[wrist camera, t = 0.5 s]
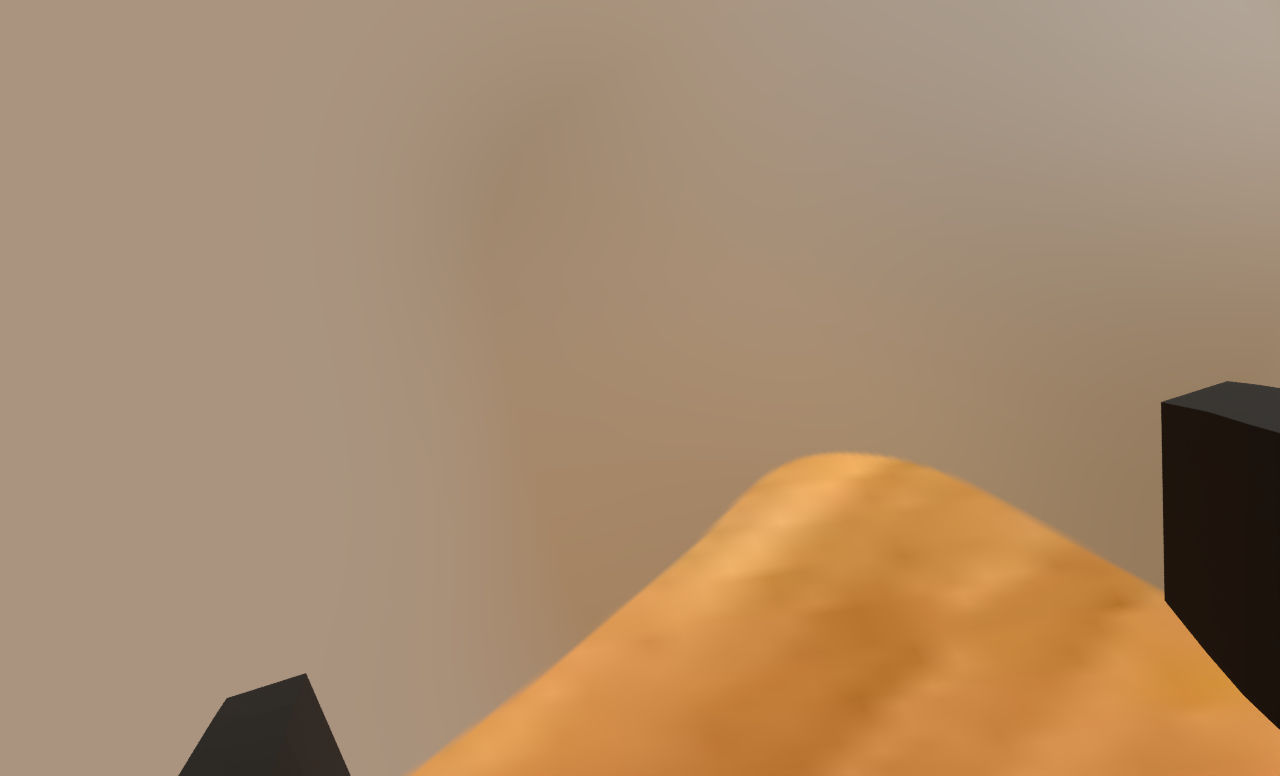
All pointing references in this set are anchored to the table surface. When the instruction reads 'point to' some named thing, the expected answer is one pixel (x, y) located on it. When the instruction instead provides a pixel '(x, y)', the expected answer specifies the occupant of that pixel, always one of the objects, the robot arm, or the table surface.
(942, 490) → the table surface
